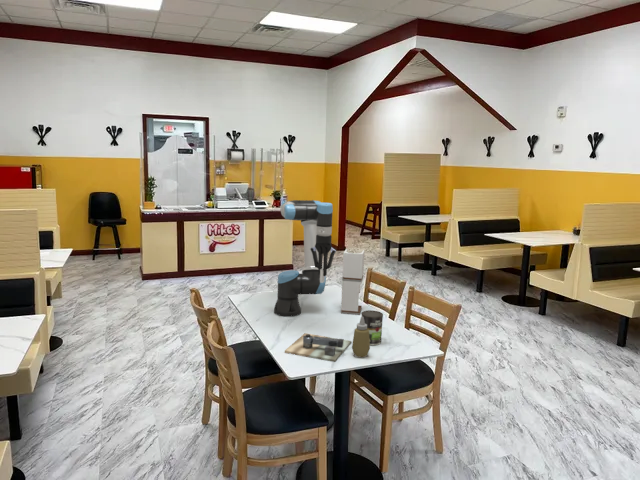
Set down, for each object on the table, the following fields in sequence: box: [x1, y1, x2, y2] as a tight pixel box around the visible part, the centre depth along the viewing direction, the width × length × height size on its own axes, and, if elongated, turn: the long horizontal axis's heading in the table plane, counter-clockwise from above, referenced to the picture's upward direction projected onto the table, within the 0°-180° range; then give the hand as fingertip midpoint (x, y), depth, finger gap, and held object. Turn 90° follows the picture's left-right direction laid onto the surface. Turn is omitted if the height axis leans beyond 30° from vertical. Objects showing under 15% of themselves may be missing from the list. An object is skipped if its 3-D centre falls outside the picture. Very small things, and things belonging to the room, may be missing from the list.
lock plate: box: [284, 332, 352, 363], centre depth 229 cm, size 24×24×7 cm
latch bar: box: [303, 335, 345, 348], centre depth 225 cm, size 18×4×5 cm, turn 78°
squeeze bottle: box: [351, 315, 371, 358], centre depth 221 cm, size 8×8×18 cm
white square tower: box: [340, 248, 365, 316], centre depth 281 cm, size 11×11×35 cm
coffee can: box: [360, 310, 384, 346], centre depth 238 cm, size 10×10×14 cm
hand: (322, 281), depth 244 cm, fingers closed
